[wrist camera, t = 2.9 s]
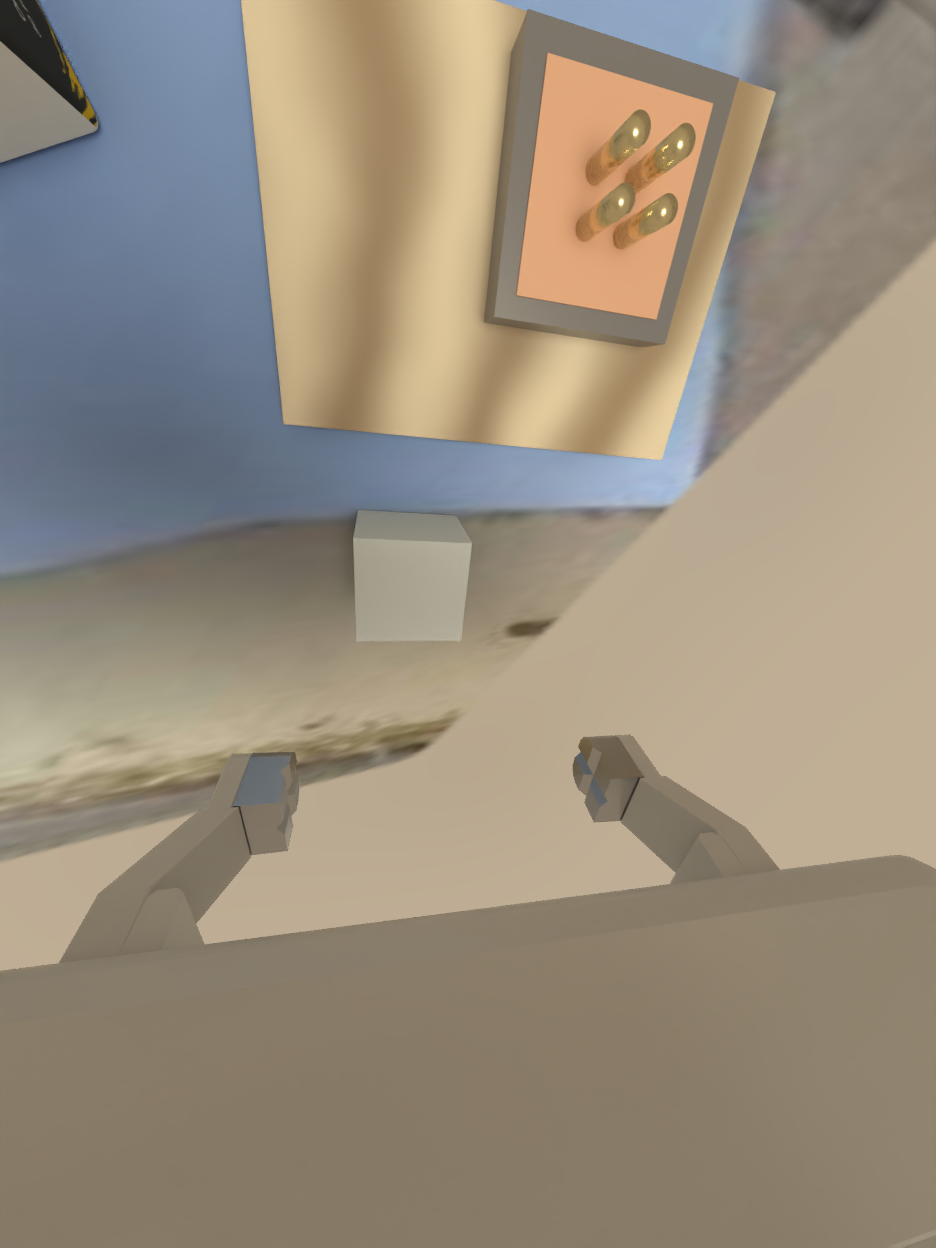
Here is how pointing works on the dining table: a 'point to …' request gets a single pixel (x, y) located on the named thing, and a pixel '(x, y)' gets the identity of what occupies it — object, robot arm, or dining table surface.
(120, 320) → the dining table surface
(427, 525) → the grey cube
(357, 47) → the board
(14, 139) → the medicine bottle
